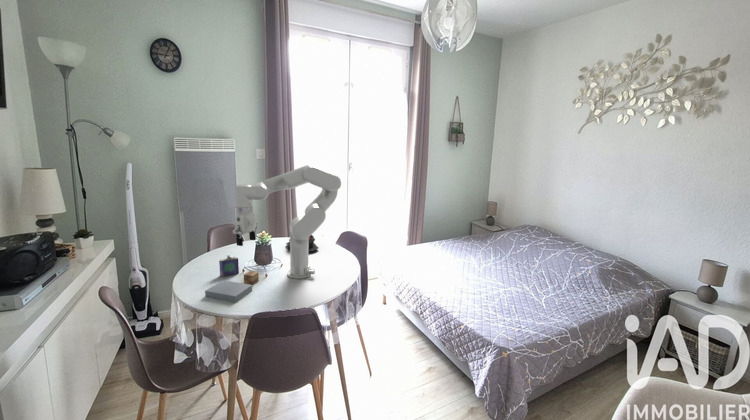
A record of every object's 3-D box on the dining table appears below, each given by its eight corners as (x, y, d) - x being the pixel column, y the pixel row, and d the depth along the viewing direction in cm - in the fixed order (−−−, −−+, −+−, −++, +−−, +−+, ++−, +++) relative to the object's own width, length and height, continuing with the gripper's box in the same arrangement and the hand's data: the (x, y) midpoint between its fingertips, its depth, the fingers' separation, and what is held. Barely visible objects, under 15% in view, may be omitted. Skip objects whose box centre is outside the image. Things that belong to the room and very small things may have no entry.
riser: (252, 290, 154) (252, 284, 154) (235, 302, 143) (235, 296, 142) (223, 285, 158) (223, 280, 157) (205, 296, 147) (205, 290, 146)
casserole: (325, 250, 216) (325, 238, 214) (302, 256, 202) (302, 243, 200) (301, 241, 231) (301, 230, 230) (279, 247, 217) (279, 235, 216)
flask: (220, 277, 167) (219, 257, 165) (219, 275, 170) (218, 255, 168) (239, 274, 172) (238, 255, 170) (238, 272, 174) (237, 253, 172)
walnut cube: (258, 281, 165) (258, 272, 164) (252, 285, 160) (252, 275, 159) (250, 279, 166) (249, 270, 165) (244, 283, 162) (243, 274, 160)
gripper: (239, 214, 150) (241, 248, 153) (262, 207, 166) (263, 238, 169) (225, 212, 152) (228, 246, 155) (249, 205, 168) (251, 237, 171)
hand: (246, 242), depth 162 cm, fingers open, 9 cm apart
